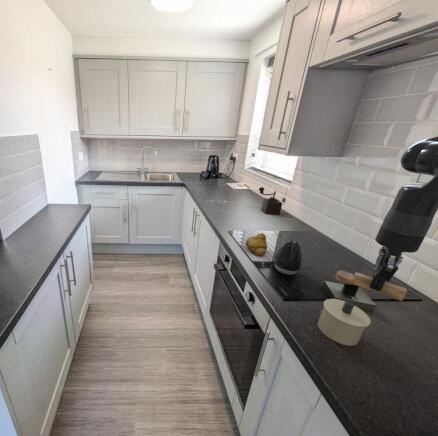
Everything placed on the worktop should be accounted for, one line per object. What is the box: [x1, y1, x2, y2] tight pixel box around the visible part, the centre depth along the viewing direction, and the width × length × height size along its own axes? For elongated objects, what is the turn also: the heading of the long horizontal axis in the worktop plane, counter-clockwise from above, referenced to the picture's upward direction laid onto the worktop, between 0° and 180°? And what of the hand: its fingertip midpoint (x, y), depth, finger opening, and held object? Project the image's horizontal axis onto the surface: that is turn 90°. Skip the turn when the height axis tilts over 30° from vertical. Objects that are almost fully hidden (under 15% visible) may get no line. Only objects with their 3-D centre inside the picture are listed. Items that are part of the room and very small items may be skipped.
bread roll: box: [245, 233, 268, 256], centre depth 116 cm, size 13×10×8 cm
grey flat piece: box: [321, 280, 377, 313], centre depth 85 cm, size 12×10×3 cm
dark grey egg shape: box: [273, 239, 303, 276], centre depth 98 cm, size 10×10×15 cm
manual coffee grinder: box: [258, 186, 283, 216], centre depth 172 cm, size 16×11×18 cm
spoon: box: [334, 270, 408, 302], centre depth 62 cm, size 14×4×3 cm, turn 47°
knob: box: [342, 283, 360, 296], centre depth 84 cm, size 4×4×5 cm
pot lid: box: [322, 298, 372, 328], centre depth 68 cm, size 11×11×4 cm
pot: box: [316, 306, 367, 347], centre depth 70 cm, size 10×10×7 cm
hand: (374, 287), depth 62 cm, fingers closed on spoon, 2 cm apart
